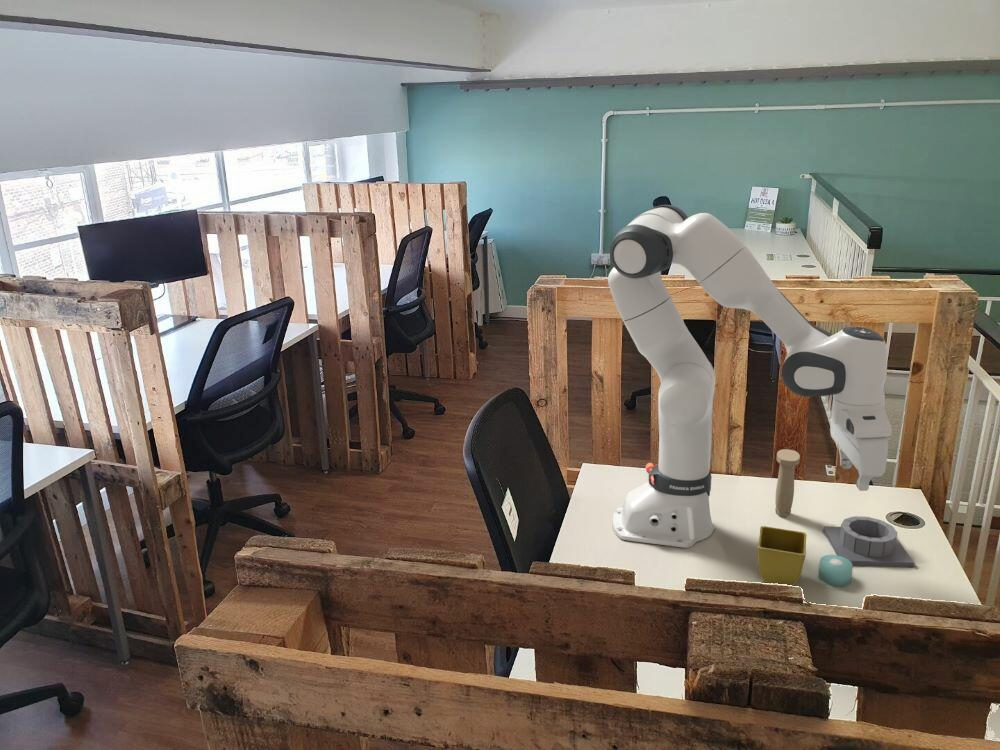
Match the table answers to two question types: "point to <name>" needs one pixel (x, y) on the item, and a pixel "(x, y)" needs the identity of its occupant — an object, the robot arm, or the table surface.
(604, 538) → the table surface
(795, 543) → the flower pot
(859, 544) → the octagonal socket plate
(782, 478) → the handle
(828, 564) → the teal rounded cylinder
